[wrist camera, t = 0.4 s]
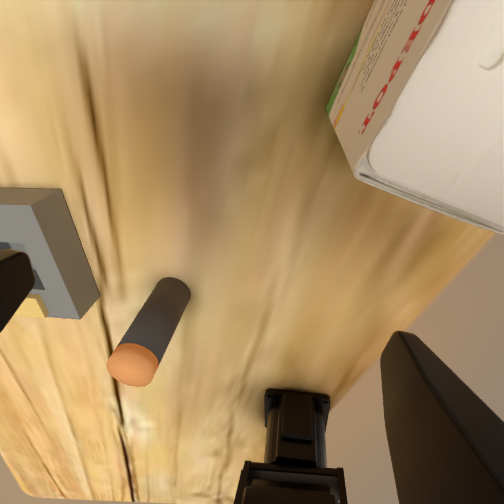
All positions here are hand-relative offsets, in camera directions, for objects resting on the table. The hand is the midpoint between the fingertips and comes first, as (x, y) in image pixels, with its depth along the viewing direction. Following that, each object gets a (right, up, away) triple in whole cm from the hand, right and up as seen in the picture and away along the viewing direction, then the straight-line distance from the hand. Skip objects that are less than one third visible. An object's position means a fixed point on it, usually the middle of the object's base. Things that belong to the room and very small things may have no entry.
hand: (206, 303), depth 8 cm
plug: (-6, -2, +19) cm, 20 cm away
